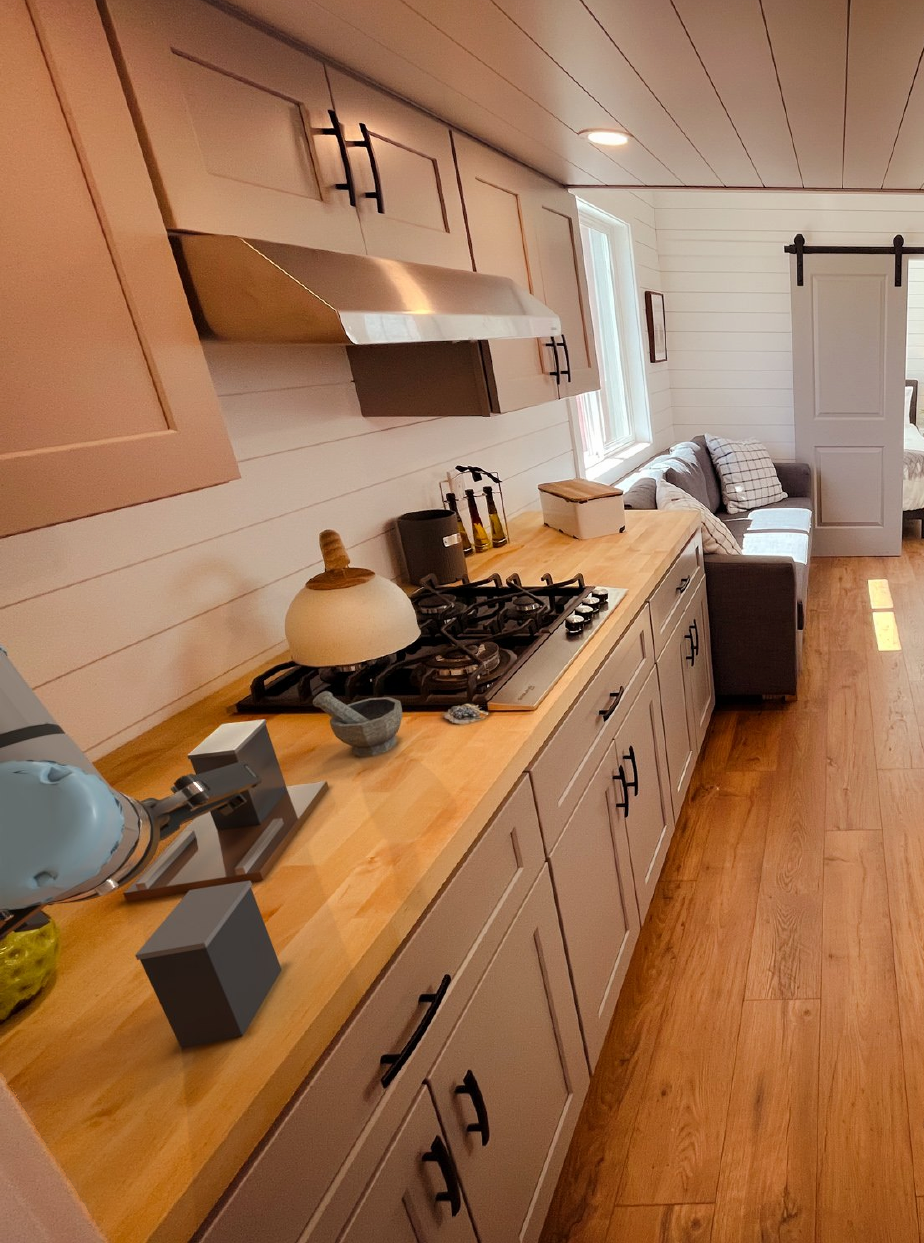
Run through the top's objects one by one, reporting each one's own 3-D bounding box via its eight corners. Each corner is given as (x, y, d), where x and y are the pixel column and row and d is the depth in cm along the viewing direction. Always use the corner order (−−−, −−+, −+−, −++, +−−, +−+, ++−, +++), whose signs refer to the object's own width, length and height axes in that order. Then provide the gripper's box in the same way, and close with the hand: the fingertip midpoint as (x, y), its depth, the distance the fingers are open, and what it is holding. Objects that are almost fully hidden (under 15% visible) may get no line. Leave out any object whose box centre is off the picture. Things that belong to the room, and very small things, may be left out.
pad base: (126, 903, 83) (84, 810, 79) (219, 803, 101) (189, 723, 97) (263, 881, 87) (231, 791, 82) (329, 788, 105) (305, 710, 100)
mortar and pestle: (401, 726, 122) (386, 665, 118) (416, 746, 116) (401, 683, 112) (324, 750, 115) (304, 686, 111) (336, 774, 109) (316, 706, 104)
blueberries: (461, 704, 130) (459, 695, 129) (499, 708, 129) (497, 699, 128) (434, 722, 124) (432, 713, 123) (475, 727, 122) (473, 717, 122)
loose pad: (179, 1051, 66) (134, 955, 62) (226, 980, 74) (189, 889, 69) (244, 1037, 68) (204, 942, 63) (283, 969, 75) (250, 880, 71)
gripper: (-161, 1052, 40) (-28, 1004, 56) (308, 767, 56) (308, 792, 72) (-262, 955, 39) (-97, 934, 55) (245, 694, 55) (259, 736, 71)
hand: (133, 854), depth 63 cm, fingers open, 13 cm apart
